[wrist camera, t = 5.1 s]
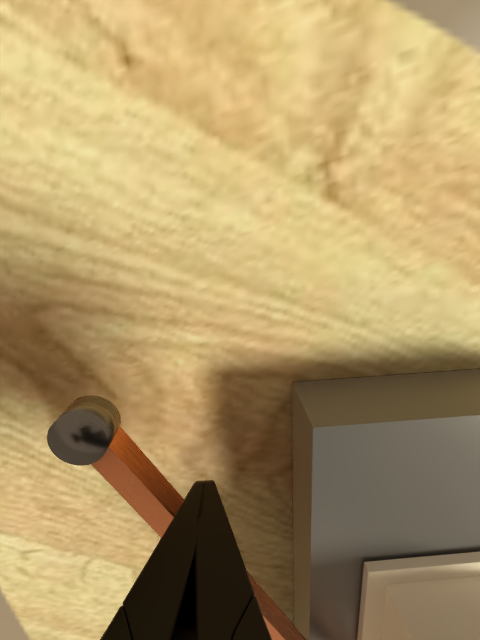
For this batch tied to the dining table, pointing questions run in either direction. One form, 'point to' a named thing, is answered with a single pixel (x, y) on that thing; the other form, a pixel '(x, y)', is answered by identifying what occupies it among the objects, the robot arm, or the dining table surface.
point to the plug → (421, 598)
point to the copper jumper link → (135, 479)
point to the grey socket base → (379, 484)
